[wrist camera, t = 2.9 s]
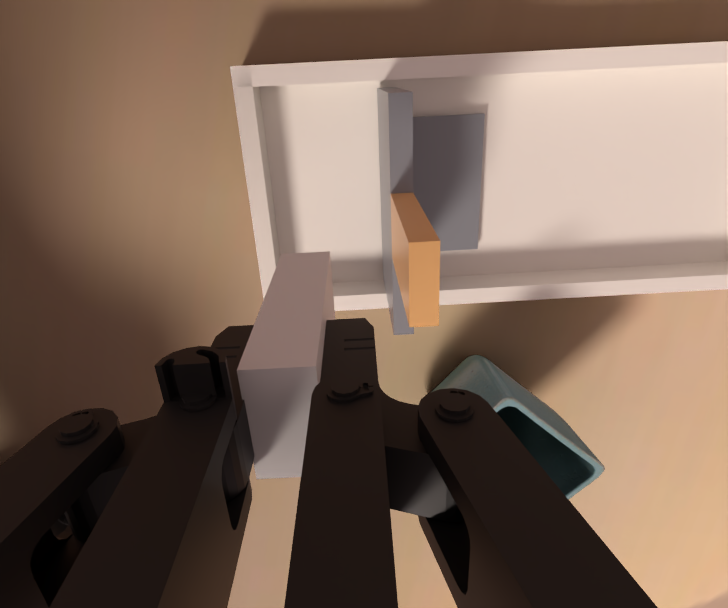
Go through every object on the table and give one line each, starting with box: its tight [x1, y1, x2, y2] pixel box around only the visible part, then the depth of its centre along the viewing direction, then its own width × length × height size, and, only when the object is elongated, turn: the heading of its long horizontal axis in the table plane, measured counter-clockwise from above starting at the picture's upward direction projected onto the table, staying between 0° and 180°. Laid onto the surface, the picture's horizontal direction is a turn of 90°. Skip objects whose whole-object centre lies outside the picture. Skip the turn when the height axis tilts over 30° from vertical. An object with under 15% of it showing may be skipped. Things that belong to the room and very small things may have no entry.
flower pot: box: [431, 355, 605, 499], centre depth 34 cm, size 9×9×9 cm
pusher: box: [377, 87, 485, 335], centre depth 23 cm, size 6×11×15 cm, turn 3°
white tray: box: [230, 41, 728, 311], centre depth 29 cm, size 32×14×4 cm, turn 93°
